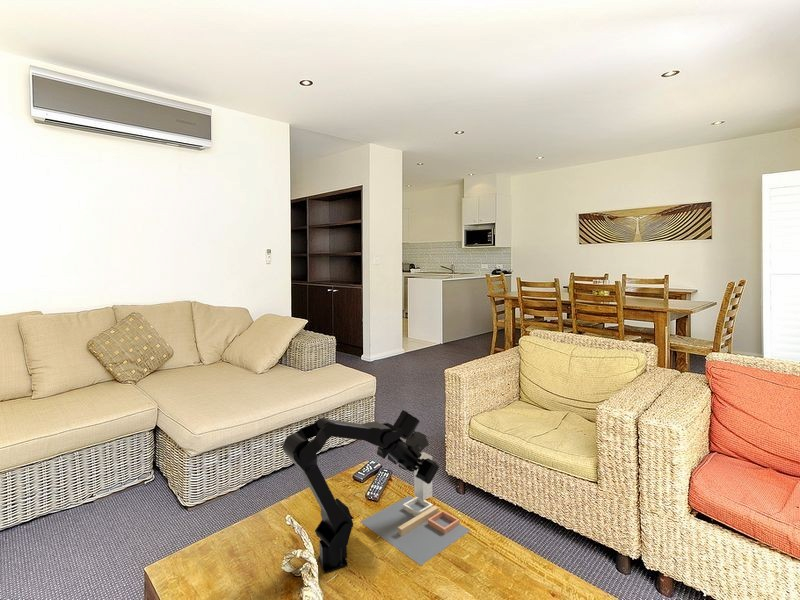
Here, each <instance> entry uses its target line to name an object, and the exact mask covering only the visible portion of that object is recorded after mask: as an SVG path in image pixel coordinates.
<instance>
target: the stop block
mask: <svg viewBox="0 0 800 600" xmlns="http://www.w3.org/2000/svg"><path fill="white" fill-rule="evenodd" d="M420 453H421V454H422V455H421V457H420V458H419V459H420V460H421V459H427V458H429V459H431V460H432V461H433V456H432V455H431V454H429V453H426V452H424V451H421V452H420ZM418 463H419V462H418ZM419 464H420V463H419ZM415 467H417V466H415ZM417 472H418V469H417V471H415V470H414V472H413V476H414V477H413V478H414V479H413V483H414V484H413V485H414V487H413V488H414V492H413V493H414V494H413V496H415V497H418V498H420V499H421V500H427V499H429V498H431V497H432V496H433V480H432V481H431V483H429V484H427V483H425V482H424V481H422V480H420V479H419V478H417V477H415V476H416V474H417Z"/></svg>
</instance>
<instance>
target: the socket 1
mask: <svg viewBox="0 0 800 600" xmlns="http://www.w3.org/2000/svg"><path fill="white" fill-rule="evenodd" d="M413 498H414V499H412V500H410V501H408V502H406V503H404V504H403V509H404V510H406V511H407V512H409V513H411V514H412V515H414V516H418V515H419V514H421V513H423V512H425V511H426V510H428V509H430V508H431V507H433V506H434V504H433V503H431V502H429V501H427V499H425V500H421V499H420V498H418V497H416V496H415V497H413ZM417 502H419V503H421V504H422V505H424V506H426V507H425V508H424V509H422V510H420V511H418V512H417V511H416V510H414V509H412V508H411V507H410V506H411V505H413V504H415V503H417Z"/></svg>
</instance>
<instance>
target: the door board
mask: <svg viewBox="0 0 800 600" xmlns="http://www.w3.org/2000/svg"><path fill="white" fill-rule="evenodd" d="M414 498H415V497H413V496H411V495H408V496H406V497H404V498H402V499H400V500H398V501H397V502H395V503H392V504H391V505H389V506H387V507H385V508H383V509H382V510H380V511H378V512H376V513H374V514H372V515H369V516H368V517H366V518H364V519H362V520H361V521H360V524H362V525H363V526H366V528H368V529H369V530H371V532H374V533H375V534H376V535H378V536H379V537H380V538H382V539H383V540H385V541H386V542H387V543H388V544H390V545H391V546H393V548H395V549H397V550H399V551H400V552H401V553H402V554H404V555H405V556H407V557H409V559H411V560H412V561H413V562H415V563H416V564H418V565H419V566H422V565H424V564H426V562H428V561H430V560H431V559H432V558H434V557H435V556H436V555H438V554H439V553H441V552H442V551H444V550H445V549H447V548H448V547H450V546H451V545H452V544H454V543H455V542H457V541H458V540H460V539H461V538H463V537H464V536H465V535H466V534H468V533H470V532H471V531H472V530H471V529H469V528H468V527H466V526H464V525H463V524H460V525H458V526H457V527H455V528H454V529H452V530H451V531H449V532H448V533H446V534H443V533H442V532H440V531H438V530H437V529H435V528H433V527H432V526H430V525H429V524H428V519H429V518H431V517H432V516H434V515H436V514H437V513H439V512H440V507H439V506H438V505H433V507H431V508H430V509H428V510H426V511H425V512H423V513H421V514H419V515H418V516H414V515H412V514H411V513H409V512H407V511H406V510H404V509H403V504H404V503H406V502H408V501H410V500H412V499H414ZM410 507H411V508H412V509H414V510H416V511H417V512H418V511H420V510H422V509H424V508H425V507H426V506H424V505H422V504H421V503H419V502H417V503H415V504H413V505H411V506H410ZM435 522H436V523H437V524H439V525H441V526H442V527H444V528H445V527H446V526H448V525H449V524H451V523H453V522H452V521H450V520H448V519H447V518H445V517H441V518H439V519H438V520H436V521H435Z"/></svg>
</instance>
